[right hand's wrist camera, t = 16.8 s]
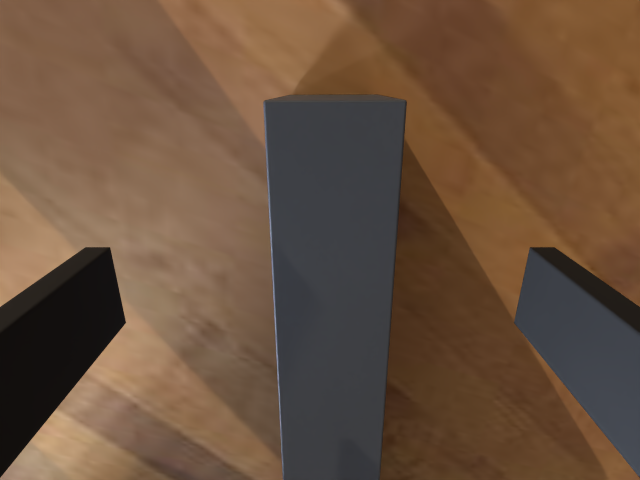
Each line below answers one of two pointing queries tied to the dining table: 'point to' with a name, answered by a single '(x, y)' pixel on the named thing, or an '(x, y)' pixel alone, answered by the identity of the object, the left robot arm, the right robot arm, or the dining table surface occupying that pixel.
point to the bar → (333, 275)
